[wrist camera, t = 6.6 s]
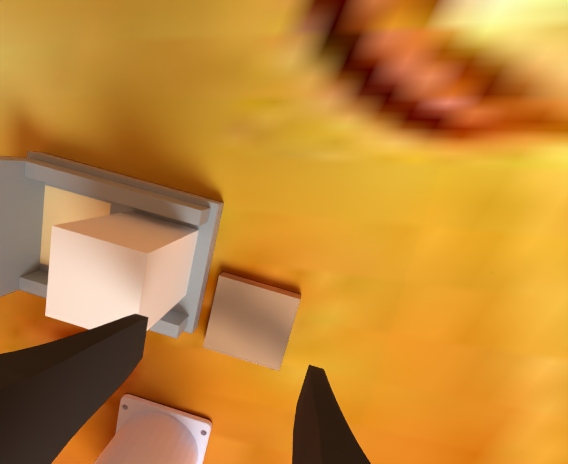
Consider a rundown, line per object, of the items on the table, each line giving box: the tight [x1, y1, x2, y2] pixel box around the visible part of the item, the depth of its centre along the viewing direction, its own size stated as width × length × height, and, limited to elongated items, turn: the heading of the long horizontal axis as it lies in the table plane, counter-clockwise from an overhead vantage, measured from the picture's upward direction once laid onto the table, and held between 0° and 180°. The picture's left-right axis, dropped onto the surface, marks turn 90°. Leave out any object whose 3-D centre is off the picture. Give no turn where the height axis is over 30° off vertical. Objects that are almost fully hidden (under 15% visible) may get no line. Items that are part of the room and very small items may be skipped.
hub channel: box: [0, 151, 224, 338], centre depth 19 cm, size 10×14×4 cm
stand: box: [203, 272, 301, 371], centre depth 21 cm, size 6×6×1 cm
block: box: [45, 211, 199, 332], centre depth 17 cm, size 5×5×6 cm
